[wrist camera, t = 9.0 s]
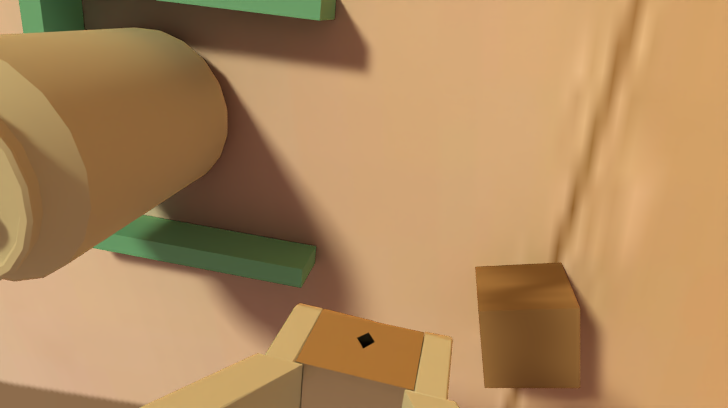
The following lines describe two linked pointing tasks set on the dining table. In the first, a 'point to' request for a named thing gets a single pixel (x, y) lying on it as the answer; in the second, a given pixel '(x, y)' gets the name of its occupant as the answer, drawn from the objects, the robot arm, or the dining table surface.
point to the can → (96, 137)
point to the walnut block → (528, 326)
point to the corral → (185, 240)
